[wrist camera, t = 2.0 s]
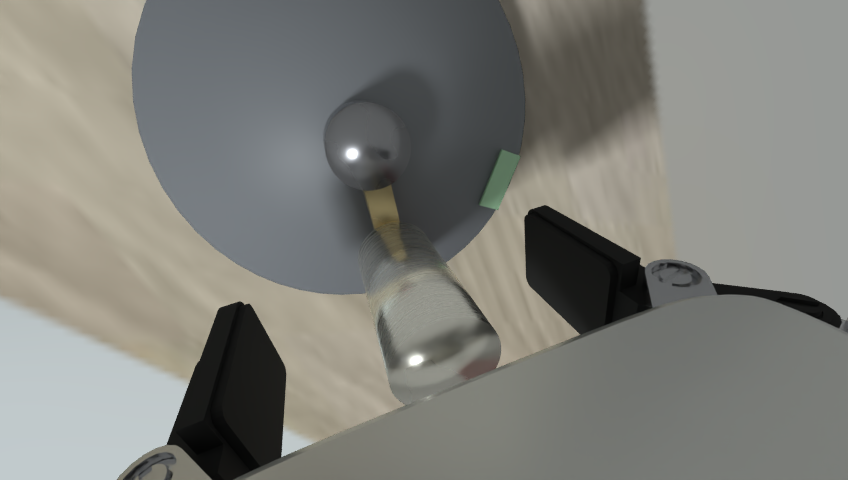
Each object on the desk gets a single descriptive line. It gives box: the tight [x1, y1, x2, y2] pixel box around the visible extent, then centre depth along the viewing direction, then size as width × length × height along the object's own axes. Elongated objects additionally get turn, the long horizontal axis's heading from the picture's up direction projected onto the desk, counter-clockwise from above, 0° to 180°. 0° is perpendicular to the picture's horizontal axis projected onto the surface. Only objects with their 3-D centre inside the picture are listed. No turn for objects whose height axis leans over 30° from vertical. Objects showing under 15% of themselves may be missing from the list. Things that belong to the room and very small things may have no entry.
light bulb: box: [323, 100, 501, 405], centre depth 11 cm, size 8×3×7 cm, turn 10°
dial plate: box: [132, 0, 525, 295], centre depth 13 cm, size 14×14×2 cm
